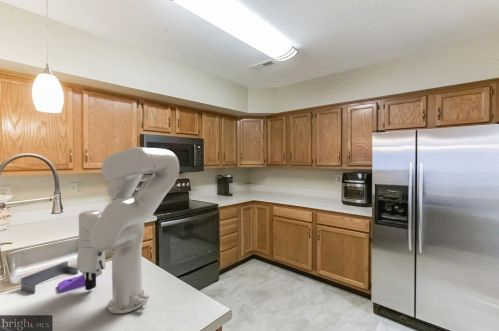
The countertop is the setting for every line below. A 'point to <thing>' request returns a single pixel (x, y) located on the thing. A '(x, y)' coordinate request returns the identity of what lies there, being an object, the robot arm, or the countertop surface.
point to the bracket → (71, 284)
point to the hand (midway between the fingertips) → (90, 288)
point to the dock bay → (45, 276)
